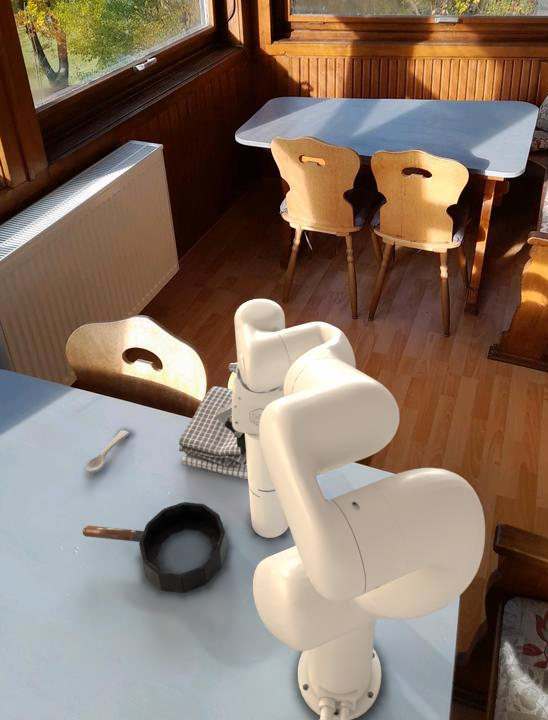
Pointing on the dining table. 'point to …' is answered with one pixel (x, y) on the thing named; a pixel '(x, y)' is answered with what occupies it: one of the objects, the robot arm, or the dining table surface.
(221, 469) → the towel
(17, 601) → the dining table surface
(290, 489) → the robot arm
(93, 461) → the spoon
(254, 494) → the cylindrical container
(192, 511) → the pan
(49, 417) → the dining table surface
